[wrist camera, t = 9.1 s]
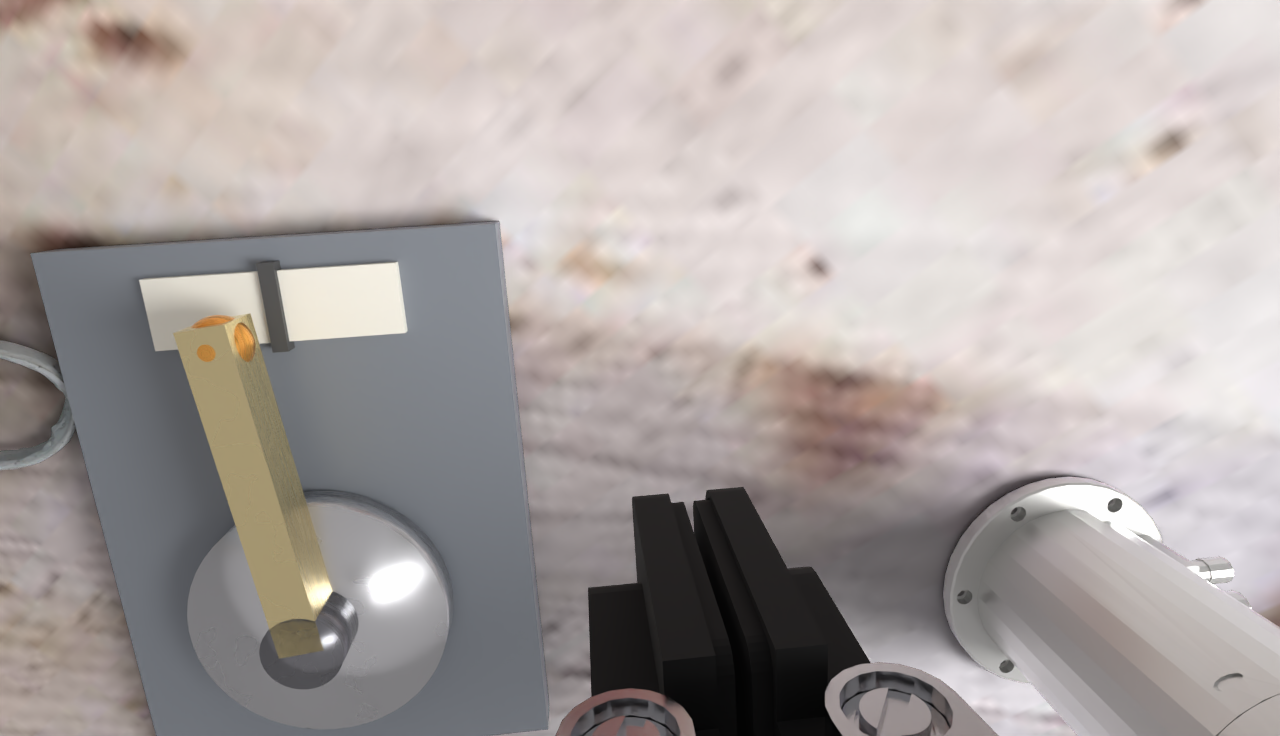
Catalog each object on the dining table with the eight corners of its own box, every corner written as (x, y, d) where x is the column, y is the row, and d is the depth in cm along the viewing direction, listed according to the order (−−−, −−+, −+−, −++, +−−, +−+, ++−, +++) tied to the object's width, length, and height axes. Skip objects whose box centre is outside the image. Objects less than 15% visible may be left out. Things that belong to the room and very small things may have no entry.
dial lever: (475, 680, 40) (464, 740, 35) (245, 724, 39) (205, 790, 35) (376, 281, 34) (348, 296, 30) (106, 325, 34) (39, 347, 29)
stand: (499, 221, 36) (493, 224, 33) (549, 704, 43) (547, 739, 40) (60, 248, 35) (17, 255, 32) (184, 742, 42) (157, 782, 39)
